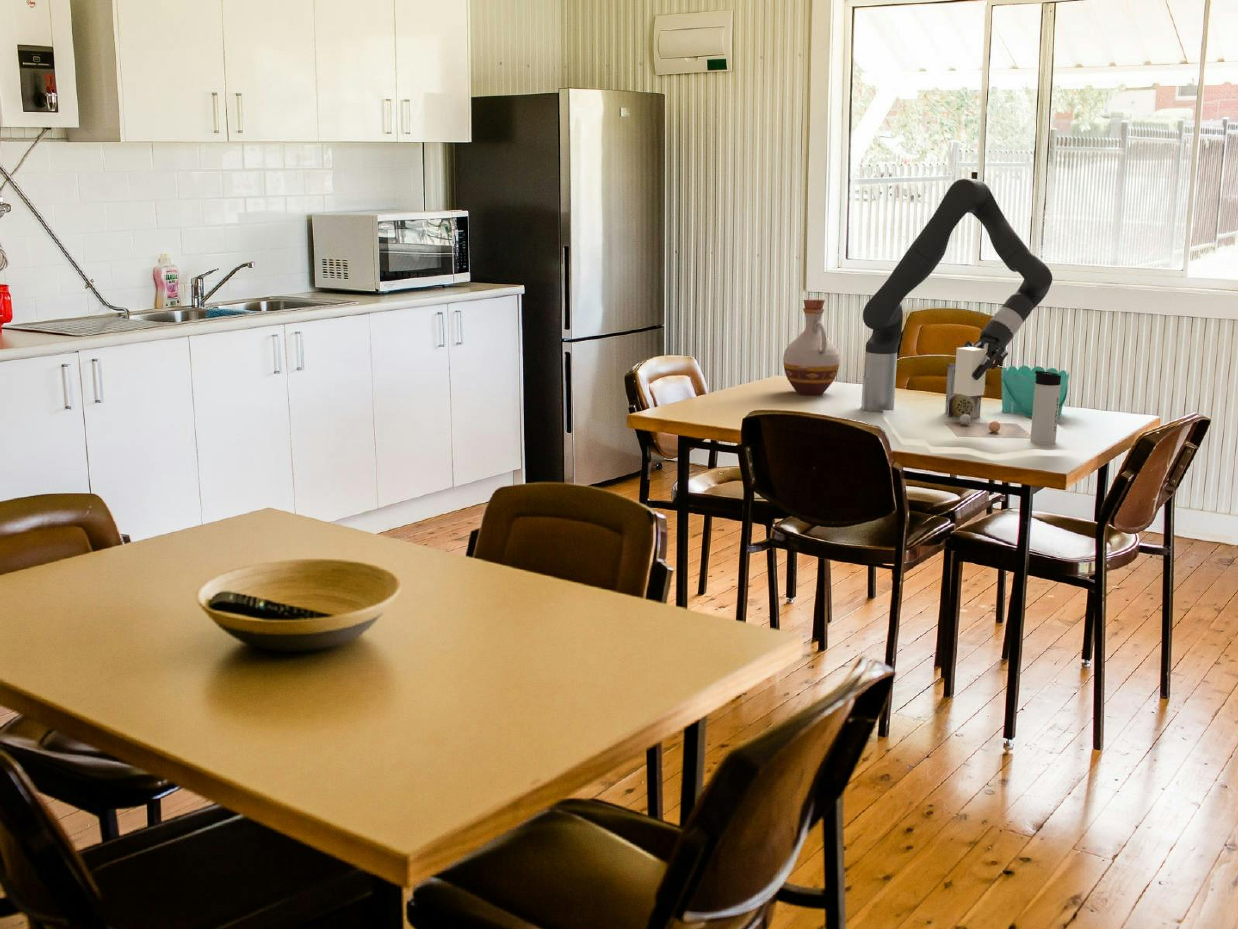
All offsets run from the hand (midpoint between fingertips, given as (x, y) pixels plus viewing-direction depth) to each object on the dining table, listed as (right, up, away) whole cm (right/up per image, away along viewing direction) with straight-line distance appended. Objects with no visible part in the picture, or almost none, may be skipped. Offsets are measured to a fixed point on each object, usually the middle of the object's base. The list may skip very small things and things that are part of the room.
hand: (965, 376), depth 341 cm
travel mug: (+19, -19, -4) cm, 27 cm away
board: (+9, -15, +10) cm, 20 cm away
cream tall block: (+1, -5, +2) cm, 5 cm away
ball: (+9, -15, +7) cm, 19 cm away
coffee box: (+7, -11, +31) cm, 33 cm away
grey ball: (+4, -12, +16) cm, 21 cm away
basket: (+31, -8, +43) cm, 54 cm away
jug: (-30, -1, +71) cm, 77 cm away
